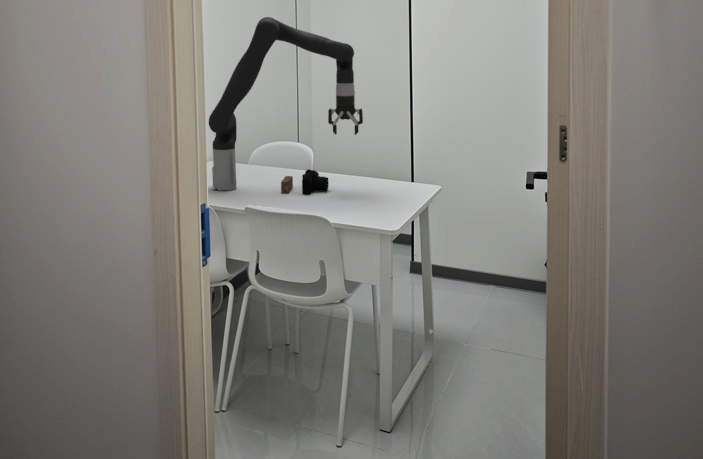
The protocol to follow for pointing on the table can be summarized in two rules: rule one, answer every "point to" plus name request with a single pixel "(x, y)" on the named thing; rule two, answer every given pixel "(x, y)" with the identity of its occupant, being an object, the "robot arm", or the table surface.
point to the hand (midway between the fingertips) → (345, 134)
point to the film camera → (313, 182)
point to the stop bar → (286, 184)
